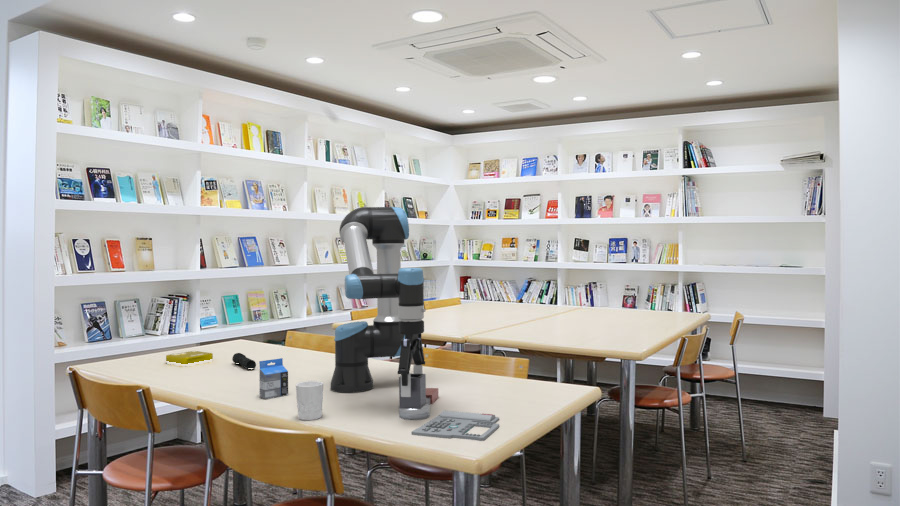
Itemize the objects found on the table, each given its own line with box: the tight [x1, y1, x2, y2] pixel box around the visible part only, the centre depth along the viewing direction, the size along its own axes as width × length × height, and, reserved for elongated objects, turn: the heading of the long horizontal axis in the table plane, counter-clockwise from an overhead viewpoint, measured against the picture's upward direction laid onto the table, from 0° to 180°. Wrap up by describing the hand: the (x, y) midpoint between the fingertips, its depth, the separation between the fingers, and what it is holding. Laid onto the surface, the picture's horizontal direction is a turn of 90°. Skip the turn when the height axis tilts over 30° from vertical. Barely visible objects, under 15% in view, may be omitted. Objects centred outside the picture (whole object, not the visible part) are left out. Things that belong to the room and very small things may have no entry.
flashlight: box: [231, 352, 257, 369], centre depth 272 cm, size 5×21×5 cm, turn 33°
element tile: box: [165, 350, 214, 364], centre depth 284 cm, size 15×15×5 cm
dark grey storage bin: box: [398, 372, 427, 409], centre depth 189 cm, size 6×6×9 cm
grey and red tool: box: [398, 387, 439, 421], centre depth 199 cm, size 29×9×7 cm, turn 169°
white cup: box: [295, 380, 324, 421], centre depth 189 cm, size 8×8×10 cm
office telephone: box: [410, 410, 500, 442], centre depth 177 cm, size 23×3×20 cm
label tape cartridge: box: [259, 357, 289, 400], centre depth 217 cm, size 9×4×12 cm, turn 134°
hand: (412, 391), depth 189 cm, fingers open, 13 cm apart
